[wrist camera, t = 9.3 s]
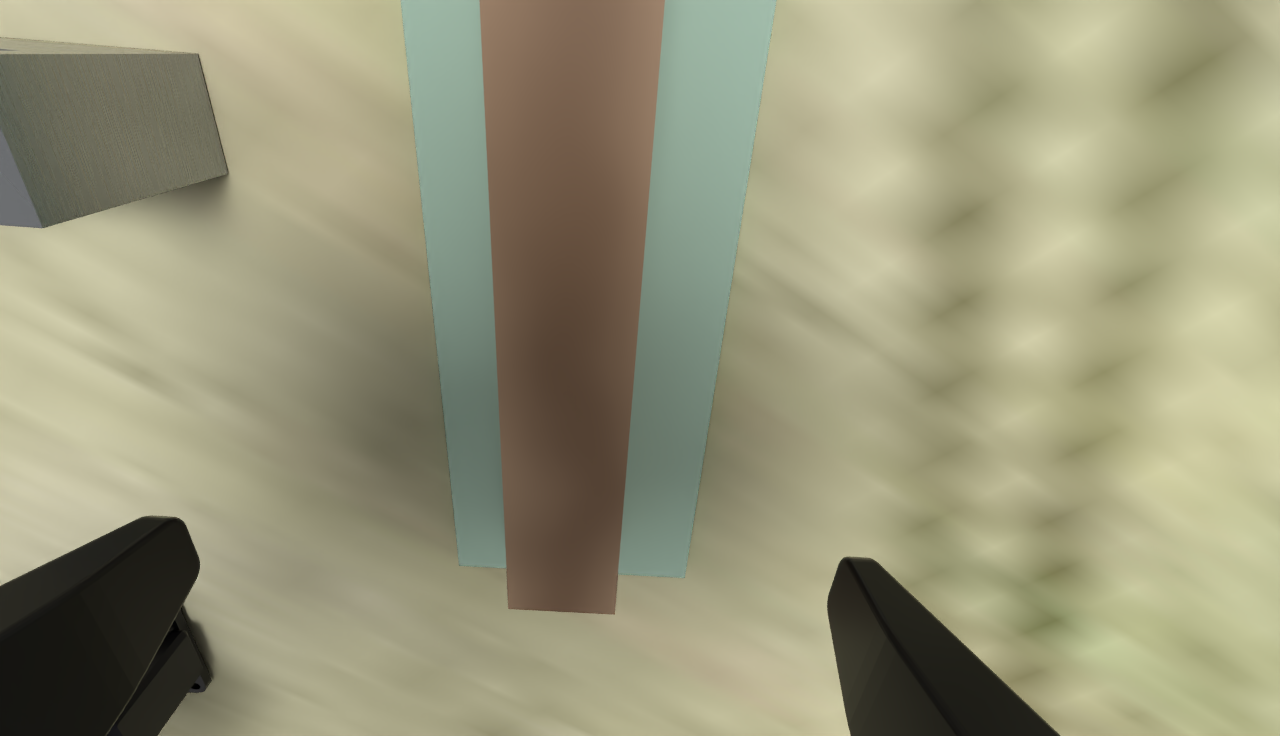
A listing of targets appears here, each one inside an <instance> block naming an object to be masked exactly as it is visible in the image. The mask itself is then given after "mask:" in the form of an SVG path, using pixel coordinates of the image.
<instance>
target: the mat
mask: <svg viewBox="0 0 1280 736" xmlns="http://www.w3.org/2000/svg"><path fill="white" fill-rule="evenodd" d="M775 6H776V0H665V6H664V18H663V30H662V43H661V55H660V67H659V79H658V91H657V104H656V116H655V128H654V140H653V152H652V165H651V177H650V189H649V201H648V214H647V226H646V238H645V250H644V262H643V275H642V287H641V299H640V311H639V323H638V336H637V348H636V360H635V372H634V385H633V397H632V409H631V421H630V433H629V446H628V458H627V470H626V482H625V495H624V507H623V519H622V531H621V543H620V556H619V568H618V574H620V575H639V576H657V577H676V578H685V573H686V566H687V560H688V554H689V548H690V541H691V535H692V529H693V522H694V516H695V510H696V503H697V497H698V491H699V485H700V478H701V472H702V466H703V459H704V453H705V447H706V440H707V434H708V428H709V422H710V415H711V409H712V403H713V396H714V390H715V384H716V377H717V371H718V365H719V359H720V352H721V346H722V340H723V333H724V327H725V321H726V314H727V308H728V302H729V296H730V289H731V283H732V277H733V270H734V264H735V258H736V251H737V245H738V239H739V233H740V226H741V220H742V214H743V207H744V201H745V195H746V188H747V182H748V176H749V170H750V163H751V157H752V151H753V144H754V138H755V132H756V125H757V119H758V113H759V107H760V100H761V94H762V88H763V81H764V75H765V69H766V62H767V56H768V50H769V44H770V37H771V31H772V25H773V18H774V12H775ZM401 8H402V18H403V27H404V37H405V47H406V56H407V66H408V76H409V85H410V95H411V105H412V114H413V124H414V134H415V143H416V153H417V163H418V172H419V182H420V192H421V201H422V211H423V221H424V230H425V240H426V250H427V259H428V269H429V279H430V288H431V298H432V308H433V317H434V327H435V337H436V346H437V356H438V366H439V375H440V385H441V395H442V404H443V414H444V424H445V433H446V443H447V453H448V463H449V472H450V482H451V492H452V501H453V511H454V521H455V530H456V540H457V550H458V559H459V566H472V567H491V568H506V548H505V527H504V506H503V485H502V464H501V443H500V422H499V401H498V380H497V359H496V338H495V317H494V296H493V275H492V254H491V233H490V212H489V191H488V170H487V149H486V128H485V107H484V86H483V65H482V44H481V23H480V2H479V0H401Z"/></svg>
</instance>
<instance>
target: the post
mask: <svg viewBox="0 0 1280 736" xmlns="http://www.w3.org/2000/svg"><path fill="white" fill-rule="evenodd" d="M225 174H228V171H227V167H226V163H225V159H224V155H223V152H222V148H221V144H220V140H219V136H218V132H217V128H216V124H215V120H214V116H213V112H212V108H211V104H210V100H209V97H208V93H207V89H206V85H205V81H204V77H203V73H202V69H201V65H200V61H199V57H198V54H196V53H184V52H172V51H160V50H148V49H136V48H124V47H112V46H99V45H87V44H75V43H63V42H51V41H39V40H27V39H15V38H3V37H0V225H6V226H20V227H34V228H45V227H48V226H52V225H55V224H59V223H62V222H66V221H69V220H72V219H76V218H79V217H83V216H86V215H89V214H93V213H96V212H100V211H103V210H106V209H110V208H113V207H117V206H120V205H123V204H127V203H130V202H134V201H137V200H140V199H144V198H147V197H151V196H154V195H157V194H161V193H164V192H168V191H171V190H174V189H178V188H181V187H185V186H188V185H191V184H195V183H198V182H202V181H205V180H208V179H212V178H215V177H219V176H222V175H225Z"/></svg>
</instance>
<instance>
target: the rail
mask: <svg viewBox="0 0 1280 736" xmlns="http://www.w3.org/2000/svg"><path fill="white" fill-rule="evenodd" d="M479 2H480V23H481V44H482V65H483V86H484V107H485V128H486V149H487V170H488V191H489V212H490V233H491V254H492V275H493V296H494V317H495V338H496V359H497V380H498V401H499V422H500V443H501V464H502V485H503V506H504V527H505V548H506V569H507V590H508V609H520V610H539V611H558V612H578V613H597V614H615V604H616V592H617V580H618V568H619V556H620V543H621V531H622V519H623V507H624V495H625V482H626V470H627V458H628V446H629V433H630V421H631V409H632V397H633V385H634V372H635V360H636V348H637V336H638V323H639V311H640V299H641V287H642V275H643V262H644V250H645V238H646V226H647V214H648V201H649V189H650V177H651V165H652V152H653V140H654V128H655V116H656V104H657V91H658V79H659V67H660V55H661V43H662V30H663V18H664V6H665V0H479Z"/></svg>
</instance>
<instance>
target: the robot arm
mask: <svg viewBox="0 0 1280 736" xmlns="http://www.w3.org/2000/svg"><path fill="white" fill-rule="evenodd" d="M199 569H200V560H199V556H198V554H197V551H196V549H195V546H194V544H193V542H192V539H191V537H190V534H189V532H188V529H187V527H186V525H185V523H184V522H183V521H182V520H181V519H180V518H177V517H167V516H145V517H141V518H139V519H137V520H135V521H132V522H130V523H128V524H126V525H124V526H122V527H120V528H118V529H116V530H114V531H112V532H110V533H108V534H106V535H104V536H102V537H100V538H98V539H96V540H93V541H91V542H89V543H87V544H85V545H83V546H81V547H79V548H77V549H75V550H73V551H71V552H69V553H67V554H65V555H63V556H61V557H59V558H57V559H54V560H52V561H50V562H48V563H46V564H44V565H42V566H40V567H38V568H36V569H34V570H32V571H30V572H28V573H26V574H24V575H22V576H20V577H18V578H16V579H13V580H11V581H9V582H7V583H5V584H3V585H1V586H0V736H157V735H158V734H159V732H160V731H161V730H162V728H163V727H164V725H165V724H166V723H167V721H168V720H169V718H170V717H171V715H172V714H173V713H174V711H175V710H176V708H177V707H178V706H179V704H180V703H181V701H182V700H183V698H184V697H185V696H186V694H187V693H188V692H195V693H199V692H204V691H205V690H206V688H207V687H208V685H209V684H210V682H211V681H212V680H211V677H210V674H209V672H208V670H207V668H206V665H205V663H204V661H203V659H202V657H201V654H200V652H199V650H198V648H197V645H196V643H195V641H194V639H193V636H192V634H191V632H190V630H189V627H188V625H187V623H186V621H185V619H184V616H183V614H182V612H181V610H180V609H181V607H182V605H183V603H184V601H185V599H186V598H187V596H188V594H189V592H190V590H191V588H192V586H193V585H194V583H195V581H196V579H197V576H198V573H199ZM827 610H828V618H829V623H830V629H831V634H832V640H833V645H834V651H835V657H836V662H837V668H838V673H839V679H840V685H841V690H842V696H843V701H844V707H845V712H846V717H847V722H848V726H849V730H850V734H851V736H1060V735H1059V734H1058V733H1057V732H1056V731H1055V730H1054V729H1053V728H1052V727H1051V726H1050V725H1049V724H1048V723H1047V722H1046V721H1045V720H1043V719H1042V718H1041V717H1040V716H1039V715H1038V714H1037V713H1036V712H1035V711H1034V710H1033V709H1032V708H1031V707H1030V706H1029V705H1028V704H1027V703H1026V702H1024V701H1023V700H1022V699H1021V698H1020V697H1019V696H1018V695H1017V694H1016V693H1015V692H1014V691H1013V690H1012V689H1011V688H1010V687H1009V686H1008V685H1007V684H1005V683H1004V682H1003V681H1002V680H1001V679H1000V678H999V677H998V676H997V675H996V674H995V673H994V672H993V671H992V670H991V669H990V668H989V667H987V666H986V665H985V664H984V663H983V662H982V661H981V660H980V659H979V658H978V657H977V656H976V655H975V654H974V653H973V652H972V651H971V650H970V649H968V648H967V647H966V646H965V645H964V644H963V643H962V642H961V641H960V640H959V639H958V638H957V637H956V636H955V635H954V634H953V633H952V632H951V631H949V630H948V629H947V628H946V627H945V626H944V625H943V624H942V623H941V622H940V621H939V620H938V619H937V618H936V617H935V616H934V615H933V614H932V613H930V612H929V611H928V610H927V609H926V608H925V607H924V606H923V605H922V604H921V603H920V602H919V601H918V600H917V599H916V598H915V597H914V596H913V595H911V594H910V593H909V592H908V591H907V590H906V589H905V588H904V587H903V586H902V585H901V584H900V583H899V582H898V581H897V580H896V579H895V578H894V577H892V576H891V575H890V574H889V573H888V572H887V571H886V570H885V569H884V568H883V567H882V566H881V565H880V564H879V563H878V562H876V561H875V560H873V559H871V558H861V557H844V558H843V559H842V560H841V561H840V563H839V565H838V568H837V571H836V574H835V577H834V580H833V583H832V586H831V589H830V592H829V595H828V601H827Z"/></svg>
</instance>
